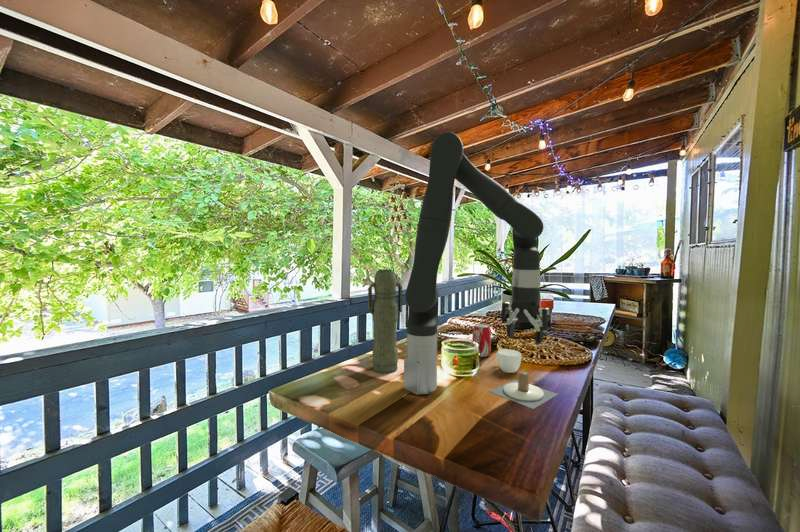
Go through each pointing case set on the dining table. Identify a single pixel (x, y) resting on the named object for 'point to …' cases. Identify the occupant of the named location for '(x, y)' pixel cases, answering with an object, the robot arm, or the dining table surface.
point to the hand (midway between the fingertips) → (524, 340)
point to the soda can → (482, 338)
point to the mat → (530, 404)
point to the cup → (508, 360)
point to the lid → (523, 389)
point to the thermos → (385, 320)
